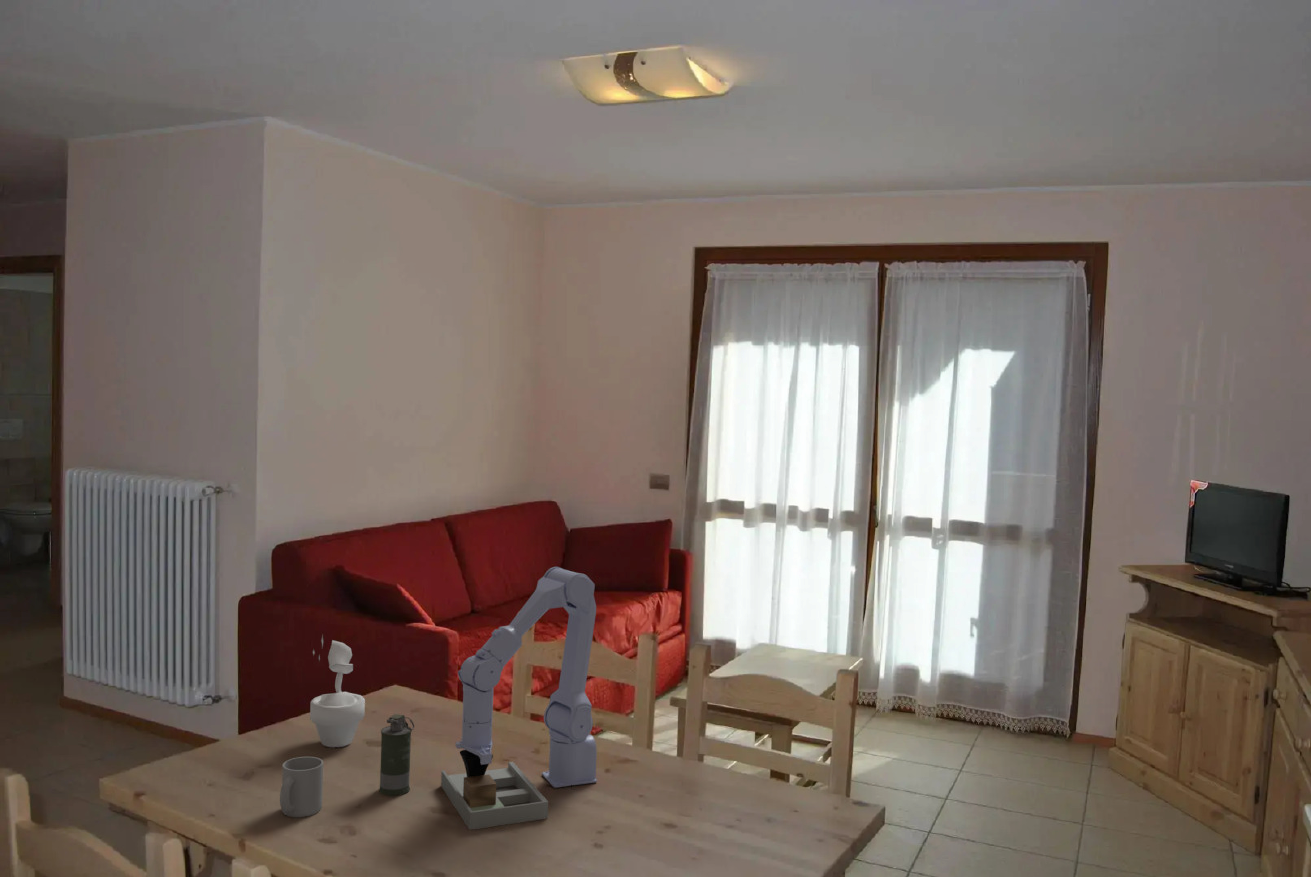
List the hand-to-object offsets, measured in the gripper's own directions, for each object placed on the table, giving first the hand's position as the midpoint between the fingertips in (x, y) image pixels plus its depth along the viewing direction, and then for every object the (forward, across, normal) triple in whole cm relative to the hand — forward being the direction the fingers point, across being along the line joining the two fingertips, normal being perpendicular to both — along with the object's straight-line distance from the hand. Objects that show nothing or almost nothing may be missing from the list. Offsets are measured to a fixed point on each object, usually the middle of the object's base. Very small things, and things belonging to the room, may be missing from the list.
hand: (475, 788), depth 198 cm
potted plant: (+3, -42, -20) cm, 46 cm away
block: (+1, +4, 0) cm, 4 cm away
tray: (+3, 0, +4) cm, 5 cm away
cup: (+3, -7, -32) cm, 33 cm away
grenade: (+3, -12, -13) cm, 18 cm away
